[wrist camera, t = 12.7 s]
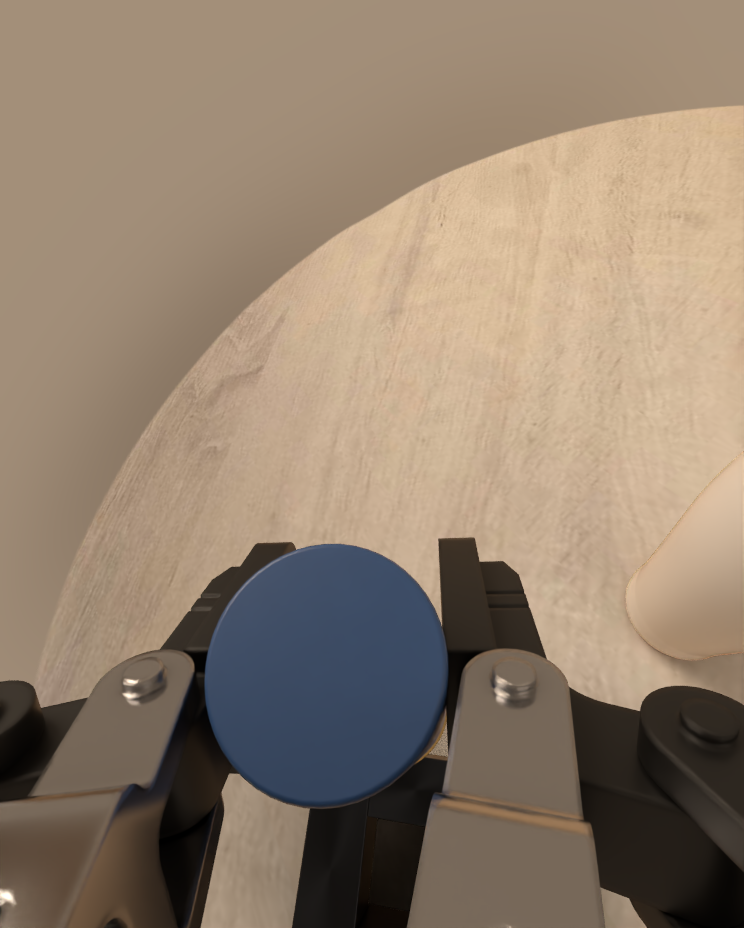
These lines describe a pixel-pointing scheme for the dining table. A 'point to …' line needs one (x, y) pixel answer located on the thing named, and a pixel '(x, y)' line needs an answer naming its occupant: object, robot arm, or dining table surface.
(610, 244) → the dining table surface
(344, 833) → the holder
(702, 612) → the drinking glass
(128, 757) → the robot arm
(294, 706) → the handle
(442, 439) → the dining table surface
